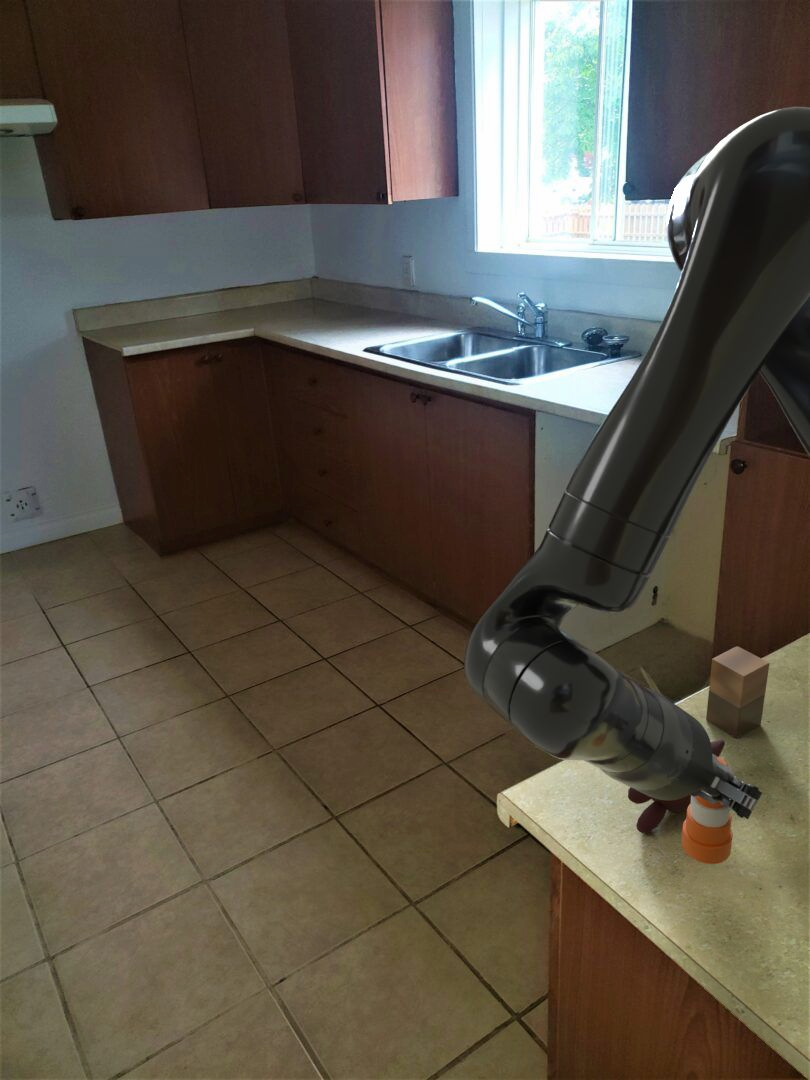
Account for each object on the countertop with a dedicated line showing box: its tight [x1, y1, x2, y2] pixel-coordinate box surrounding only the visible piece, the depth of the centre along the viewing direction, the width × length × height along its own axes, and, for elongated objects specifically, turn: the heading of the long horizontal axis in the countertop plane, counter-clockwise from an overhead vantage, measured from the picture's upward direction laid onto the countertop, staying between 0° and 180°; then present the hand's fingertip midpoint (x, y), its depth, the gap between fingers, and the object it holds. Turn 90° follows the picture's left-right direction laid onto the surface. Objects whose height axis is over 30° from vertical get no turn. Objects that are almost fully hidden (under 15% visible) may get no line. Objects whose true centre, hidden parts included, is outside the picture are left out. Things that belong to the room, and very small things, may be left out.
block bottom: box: [705, 689, 766, 739], centre depth 99 cm, size 4×4×4 cm
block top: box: [708, 645, 770, 708], centre depth 97 cm, size 4×4×4 cm
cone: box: [681, 756, 734, 865], centre depth 75 cm, size 4×4×10 cm
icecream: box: [627, 739, 726, 834], centre depth 87 cm, size 7×7×15 cm
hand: (723, 787), depth 76 cm, fingers closed on cone, 3 cm apart
